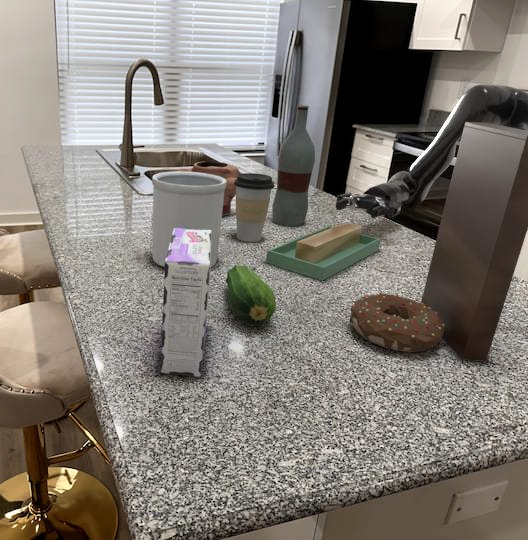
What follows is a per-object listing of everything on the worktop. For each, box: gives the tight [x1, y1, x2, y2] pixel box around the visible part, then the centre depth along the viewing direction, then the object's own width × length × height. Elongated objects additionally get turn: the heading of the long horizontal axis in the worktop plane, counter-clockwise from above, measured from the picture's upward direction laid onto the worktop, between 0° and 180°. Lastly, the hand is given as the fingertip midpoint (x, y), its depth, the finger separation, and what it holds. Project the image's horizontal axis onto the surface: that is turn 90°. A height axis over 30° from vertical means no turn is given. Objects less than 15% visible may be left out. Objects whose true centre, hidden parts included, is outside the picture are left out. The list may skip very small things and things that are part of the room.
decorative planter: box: [177, 160, 241, 217], centre depth 141 cm, size 20×12×14 cm, turn 91°
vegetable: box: [225, 264, 277, 327], centre depth 88 cm, size 7×7×20 cm
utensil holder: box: [151, 170, 227, 268], centre depth 106 cm, size 15×15×18 cm
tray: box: [265, 225, 382, 282], centre depth 114 cm, size 27×13×3 cm, turn 137°
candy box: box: [159, 228, 212, 378], centre depth 71 cm, size 14×6×16 cm, turn 174°
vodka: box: [271, 104, 316, 227], centre depth 133 cm, size 9×9×30 cm
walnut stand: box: [420, 122, 528, 362], centre depth 76 cm, size 4×16×32 cm, turn 177°
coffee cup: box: [234, 172, 276, 243], centre depth 121 cm, size 9×9×15 cm
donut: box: [349, 292, 445, 353], centre depth 80 cm, size 14×14×5 cm
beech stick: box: [295, 222, 363, 264], centre depth 114 cm, size 4×22×4 cm, turn 136°
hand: (355, 209), depth 120 cm, fingers open, 8 cm apart
